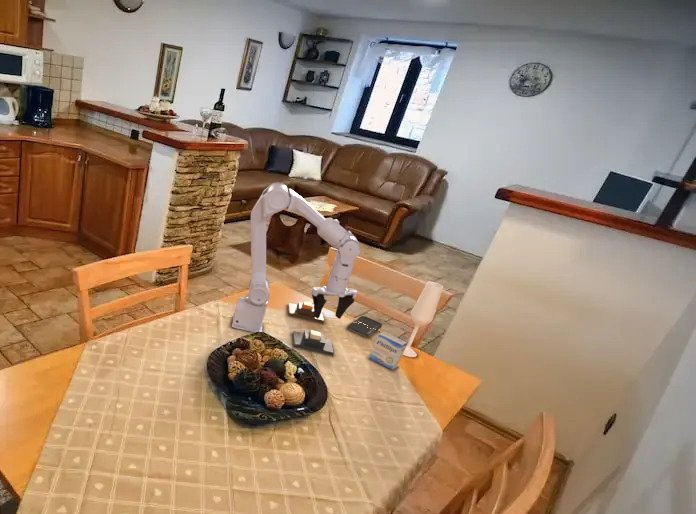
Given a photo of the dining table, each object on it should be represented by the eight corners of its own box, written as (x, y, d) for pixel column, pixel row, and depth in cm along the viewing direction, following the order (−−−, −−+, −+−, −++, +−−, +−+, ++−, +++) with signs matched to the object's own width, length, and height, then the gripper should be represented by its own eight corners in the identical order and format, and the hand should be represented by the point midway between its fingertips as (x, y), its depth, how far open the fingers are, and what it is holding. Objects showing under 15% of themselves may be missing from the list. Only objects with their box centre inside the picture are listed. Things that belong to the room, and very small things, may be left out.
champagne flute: (416, 359, 160) (447, 290, 149) (395, 352, 162) (424, 284, 151) (416, 351, 166) (446, 284, 155) (396, 344, 168) (424, 278, 157)
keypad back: (288, 315, 172) (290, 308, 171) (287, 305, 180) (290, 298, 179) (322, 323, 172) (325, 315, 170) (320, 313, 180) (323, 305, 178)
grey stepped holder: (293, 347, 152) (296, 338, 150) (292, 334, 160) (295, 325, 158) (332, 356, 151) (335, 347, 150) (329, 342, 159) (332, 334, 158)
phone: (383, 324, 178) (368, 335, 167) (382, 326, 179) (367, 338, 167) (362, 315, 182) (346, 325, 171) (361, 318, 182) (345, 328, 171)
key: (309, 338, 153) (311, 334, 152) (309, 334, 156) (310, 329, 155) (320, 341, 153) (321, 336, 152) (319, 336, 156) (320, 332, 155)
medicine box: (368, 358, 154) (377, 333, 150) (374, 354, 157) (384, 330, 153) (392, 370, 150) (402, 345, 146) (397, 366, 153) (408, 342, 149)
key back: (302, 308, 173) (304, 304, 173) (302, 305, 176) (303, 301, 176) (311, 310, 173) (313, 306, 173) (311, 307, 176) (312, 303, 175)
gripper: (324, 280, 142) (312, 322, 149) (367, 282, 147) (354, 323, 153) (313, 270, 148) (301, 312, 155) (355, 273, 153) (342, 313, 159)
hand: (327, 317), depth 154 cm, fingers open, 7 cm apart
